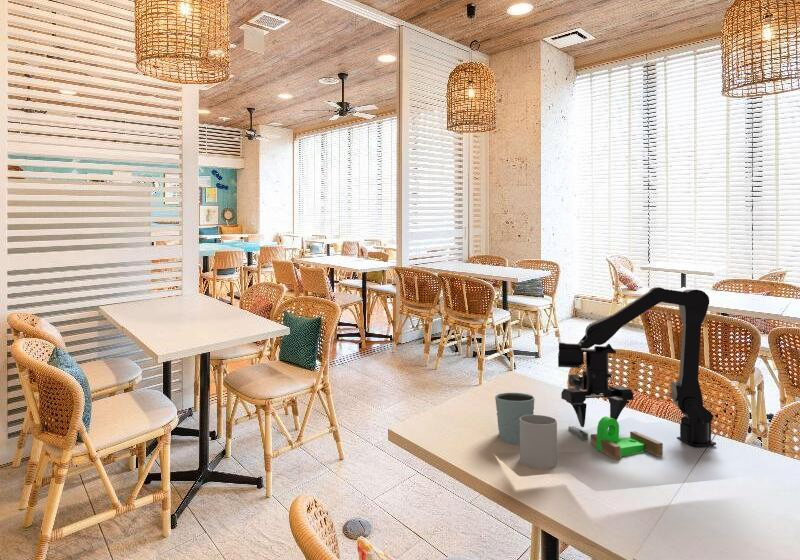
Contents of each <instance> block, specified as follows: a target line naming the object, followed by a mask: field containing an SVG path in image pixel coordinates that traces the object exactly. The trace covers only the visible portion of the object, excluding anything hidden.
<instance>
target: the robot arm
mask: <svg viewBox="0 0 800 560" xmlns="http://www.w3.org/2000/svg"><path fill="white" fill-rule="evenodd" d="M661 303H663V304H664V303H665V304H672V305H678V311H679V315H680V318H681V322H682V324H681V327H682V329H681V344H680V359H679V360H680V361H679V362H680V363H679V376H678V378H677V380H676V381H672V380H671V381H670V389H671V390H670V394H669V397H671V399H672V403H673V404H674V405H675V407H676V408H678V410H680V412H681V414H682V415H683V417H682V416H681V417H680V423H679V430H680V431H679V434H680V435H679V436H676V439H678V440H679V441H681V442H682V443H685V444H688V445H690V446H693V447H702V446H703V447H705V446H717V442H716V441H713V440H712V421H713V420H714V419H713V418H714V414H712V413H711V411H709V410H708V409H707V408H706V407H705V406H704V400H703V394H702V392H703V391H702V389H701V385H700V382H699V370H700V369H699V367H700V353H701V352H700V351H701V336H702V326H703V322H704V320H705V318H706V315H707V313H708V309H709V306H710V297H709V295H708V294H707V293H706V292H705V291H703V290H700V289H695V288H694V289H691V288H689V289H685V290H683V291H681V290H676V289H674V290H673V289H666V288H664V287H660V286H657V287H656V286H655V287H654V286H653V287H652V288H650V289H649V290H648V291H647V292H646V293H644V294H643V295H641V296H640V297H638V298H636V299H635V300H633V301H631V302H630V303H628V304H627V305H625V306H624V307H622V308H621V309H619V310H617V312H614V313H613V314H610V315H609V316H606V317H603V318H600V319H598V320H596V321H593V322H590V323H589V324H588V325H587V326H586V328H585V335H583V336H582V338H581V339H580V340H579V342H578V343H567V342H558V353H557V365H558V367H557V368H570V369H580V366H582V365H584V363H585V370H583V371H582V376H579V374H569V375H568V384H569V386H570V388H563V390H562V391H561V394H560V395H561V397H560V398H561V399H562V400H563V401H566V403H569V404H570V405H571V406H572V408H573V410H574V411H575V415H576V417H577V420H578V424H580V427H581V428H584V427H585V424H586V416H587V414H586V413H587V403H585V401H586V400H587V399H599V398H600V399H601V398H607V401H608V403H609V417H610V418H613V419H616V420H617V421H618V419H619V416H620V415H621V414H622V412H623V410H624V408H625V406H627V404H629V403H630V401H634V391H633V390H632V389H631V388H628V387H625V386H623V385H614V386H611V385H610V386H609V379H610V378H611V379H612V373H610V372H609V354H617V351H616V350H615V349H614V348H613V347H612V345H611V344H610V343H607V342H608V341H609V340H610V339H611V338H613V337H614V335H616V333H618V332H619V330H621V328H622V327H624V326H625V325H626V324H627V325H628V323H629V322H631V321H633V320H635V319H636V318H639V316H641V315H642V314H644V313H646V312H647V311H649V310H651V309H652V308H654V307H655V306H657V305H658V304H661ZM604 344H606V345H605V346H604ZM593 346H594V348H592V347H593ZM584 353H585V354H584ZM584 355H585V358H584ZM584 359H585V360H584ZM571 387H572V388H571Z"/></svg>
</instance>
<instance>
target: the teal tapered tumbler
mask: <svg viewBox="0 0 800 560" xmlns="http://www.w3.org/2000/svg"><path fill="white" fill-rule="evenodd" d="M494 400H495V408H496V416H497V427H498V437H499V438H500V440H501V441H503V442H504V443H507V444H510V445H518V446H520V417H522V416H526V415H535V414H534V413H535V411H534V410H535V397H534V396H533V395H532V394H529V393H522V392H504V393H503V392H502V393H498V394H496V395H495V396H494Z"/></svg>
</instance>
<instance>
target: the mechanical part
mask: <svg viewBox="0 0 800 560" xmlns="http://www.w3.org/2000/svg"><path fill="white" fill-rule="evenodd" d="M596 428H597V429H596V434H597V447H596V448H595V449H596V450H597V451H599V450H600V451H602V447H601V440H609V441H611V442H613V443H615V444H617V445H619V446H621V457H624V456H626V457H627V456H630V455H631V456H632V455H635V454H640V453H643V452H645V450H644V447H645V444H644V443H642V442H640V441H638V440H636V439H634V438H631V437H630V436H627V437H620V425H619V422H618V419H617V420H616V419H613V418H610V416H603V417H601V418H600V420H599V421H598V424H597V427H596ZM600 451H599V452H600Z"/></svg>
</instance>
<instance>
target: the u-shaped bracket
mask: <svg viewBox="0 0 800 560" xmlns="http://www.w3.org/2000/svg"><path fill="white" fill-rule="evenodd" d="M567 428H568V430H569V432H571V433H572V434H574V436H576V437H577V438H578V439H580V440H581V441H585V442H586V441H589V433H588V432H586V431H584V430H582V429H580V428H578V427H576V426H574V425H572V426H571V425H568V427H567Z"/></svg>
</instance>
